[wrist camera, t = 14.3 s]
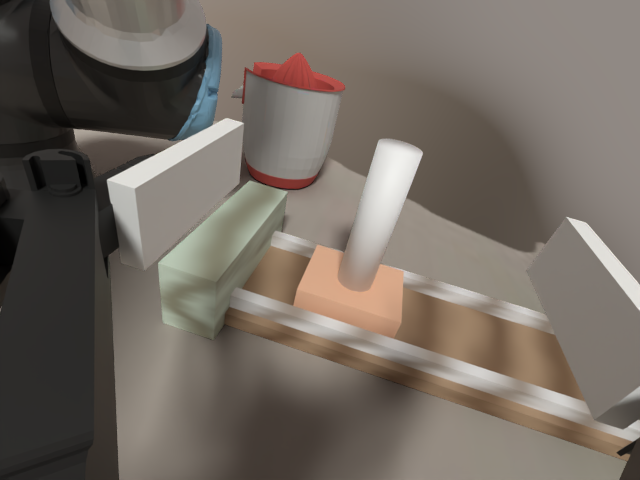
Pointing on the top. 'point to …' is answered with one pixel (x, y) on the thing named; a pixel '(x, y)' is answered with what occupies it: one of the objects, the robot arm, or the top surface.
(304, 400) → the top surface
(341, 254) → the carriage
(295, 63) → the citrus juicer
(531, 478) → the top surface
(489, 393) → the rail
